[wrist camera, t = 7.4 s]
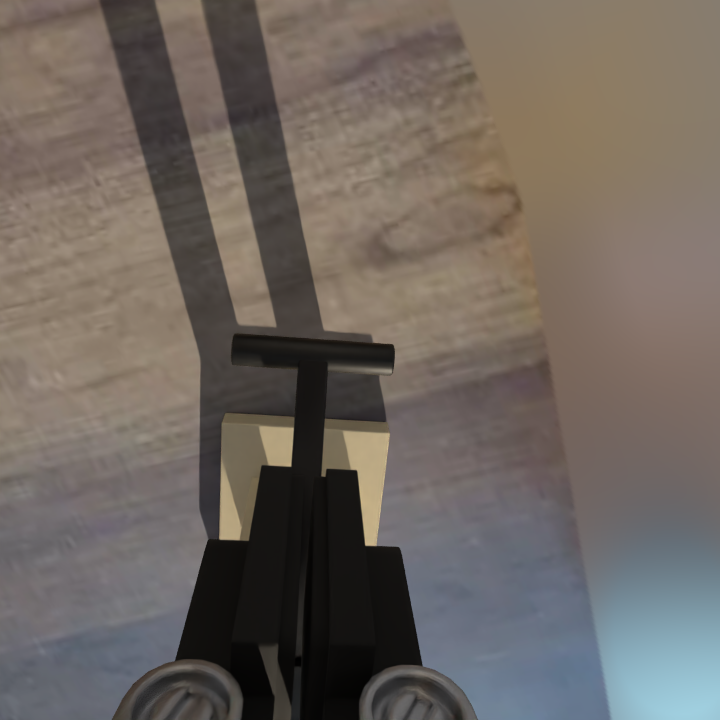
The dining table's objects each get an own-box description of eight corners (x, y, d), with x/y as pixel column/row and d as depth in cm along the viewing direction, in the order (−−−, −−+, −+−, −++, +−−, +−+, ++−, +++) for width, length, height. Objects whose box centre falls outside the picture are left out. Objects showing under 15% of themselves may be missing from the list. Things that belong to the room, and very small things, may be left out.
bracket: (225, 412, 31) (155, 616, 18) (387, 421, 31) (435, 625, 18) (220, 580, 34) (160, 857, 21) (367, 586, 35) (397, 856, 22)
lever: (237, 340, 25) (231, 325, 22) (388, 351, 25) (398, 337, 23) (202, 730, 22) (191, 759, 20) (372, 732, 23) (381, 761, 20)
